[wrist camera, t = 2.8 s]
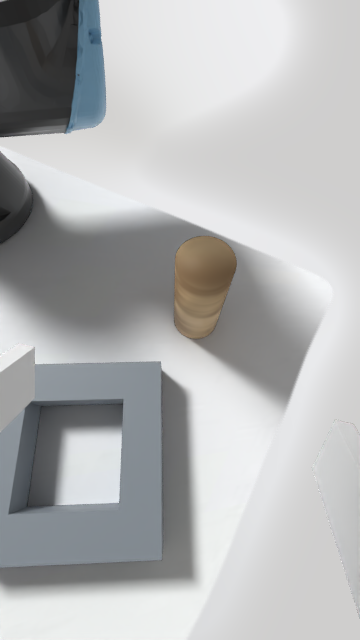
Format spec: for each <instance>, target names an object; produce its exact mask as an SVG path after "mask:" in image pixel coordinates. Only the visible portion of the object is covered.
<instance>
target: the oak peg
mask: <svg viewBox="0 0 360 640" xmlns="http://www.w3.org/2000/svg"><path fill="white" fill-rule="evenodd" d="M236 265H237V262H236V257H235V254H234V252H233V250H232V249H231V248H230V246H229V245H227V244H226V243H225V242H223V241H222V240H220V239H218V238H215V237H210V236H198V237H194V238H191V239H189V240H187V241H186V242H184V243H183V244H182V245H181V246H180V248H179V249H178V251H177V253H176V257H175V294H174V322H175V326H176V328H177V329H178V331H179V332H180V333H181V334H183V335H184V336H186V337H188V338H192V339H200V338H203V337H206V336H208V335H209V334H210V333H211V332H212V331H213V330H214V328H215V326H216V323H217V320H218V318H219V315H220V312H221V309H222V306H223V304H224V301H225V298H226V295H227V292H228V290H229V287H230V284H231V281H232V279H233V276H234V273H235V270H236Z"/></svg>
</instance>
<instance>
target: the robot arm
mask: <svg viewBox="0 0 360 640" xmlns="http://www.w3.org/2000/svg"><path fill="white" fill-rule="evenodd" d="M105 112H106V87H105V72H104V58H103V48H102V42H101V27H100V12H99V2H98V0H0V137H11V136H25V135H38V134H52V133H65V134H67V133H70V132H71V131H74V130H80V129H86V128H93V127H95V126H97V125H98V124H99V123H101V122H102V120H103V119H104V117H105ZM32 203H33V197H32V192H31V189H30V186H29V185H28V183H27V181H26V179H25V177H24V175H23V174H22V172H21V171H20V170H19V168H18V167H17V166H16V165H15V164H13V163H12V162H11V161H10V160H9V159H7V158H6V157H5V156H4V155H3V154H2V153H1V152H0V243H1V242H3V241H5V240H6V239H8V238H9V237H11V236H12V235H13V234H14V233H16V232H17V231H18V230H19V229H20V228H21V226H22V225H23V224H24V223H25V221H26V220H27V218H28V216H29V214H30V211H31V208H32ZM34 398H35V347H32V346H28V345H24V344H20V343H18V344H16V345H15V346H13V347H12V348H10V349H9V350H7V351H6V352H4V353H3V354H1V355H0V432H1V431H2V430H3V429H4V428H5V427H6V426H7V425H8V424H9V423H10V422H11V421H12V420H13V419H14V418H15V417H16V416H17V415H18V414H19V413H20V412H21V411H22V410H23V409H24V408H25V407H26V406H27V405H28V404H29V403H30V402H31V401H32V400H33V399H34ZM312 470H313V473H314V476H315V479H316V482H317V485H318V489H319V492H320V495H321V498H322V501H323V504H324V508H325V511H326V514H327V517H328V520H329V523H330V526H331V529H332V533H333V536H334V539H335V542H336V545H337V548H338V552H339V555H340V558H341V561H342V564H343V567H344V570H345V574H346V577H347V580H348V583H349V586H350V589H351V592H352V595H353V599H354V602H355V605H356V608H357V611H358V614H359V618H360V434H359V432H358V430H357V429H356V427H355V425H354V424H351V423H347V422H343V421H339V420H335V421H334V423H333V425H332V427H331V429H330V431H329V433H328V436H327V438H326V440H325V442H324V444H323V446H322V448H321V450H320V453H319V455H318V457H317V459H316V461H315V463H314V465H313V467H312Z"/></svg>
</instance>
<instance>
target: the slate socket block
mask: <svg viewBox="0 0 360 640" xmlns="http://www.w3.org/2000/svg"><path fill="white" fill-rule="evenodd" d="M96 404H123V424H122V449H121V474H120V499H119V503H108V504H83V505H58V506H33V507H27V503H28V496H29V489H30V482H31V475H32V468H33V461H34V454H35V446H36V439H37V432H38V425H39V418H40V411H41V406H61V405H96ZM162 553H163V476H162V368H161V361H160V362H118V363H76V364H35V398H34V399H33V400H32V401H31V402H30V403H29V404H28V405H27V406H26V407H25V408H24V409H23V410H22V411H21V412H20V413H19V414H18V415H17V416H16V417H15V418H14V419H13V420H12V421H11V422H10V423H9V424H8V425H7V426H6V427H5V428H4V429H3V430H2V431H1V432H0V568H2V567H24V566H46V565H67V564H89V563H110V562H132V561H154V560H162Z"/></svg>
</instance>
